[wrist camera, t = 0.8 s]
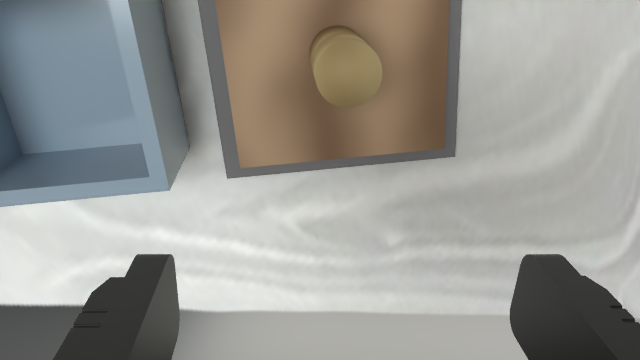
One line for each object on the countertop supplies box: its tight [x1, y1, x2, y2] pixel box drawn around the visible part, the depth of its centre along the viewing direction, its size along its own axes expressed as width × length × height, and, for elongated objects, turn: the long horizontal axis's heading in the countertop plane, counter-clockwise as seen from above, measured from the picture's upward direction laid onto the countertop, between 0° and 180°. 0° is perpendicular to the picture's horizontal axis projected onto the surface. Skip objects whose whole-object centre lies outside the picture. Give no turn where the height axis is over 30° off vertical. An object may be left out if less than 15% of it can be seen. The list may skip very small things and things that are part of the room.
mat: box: [198, 0, 462, 179], centre depth 28 cm, size 14×14×1 cm
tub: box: [0, 0, 190, 207], centre depth 25 cm, size 10×10×6 cm
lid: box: [215, 0, 449, 168], centre depth 25 cm, size 12×12×6 cm
